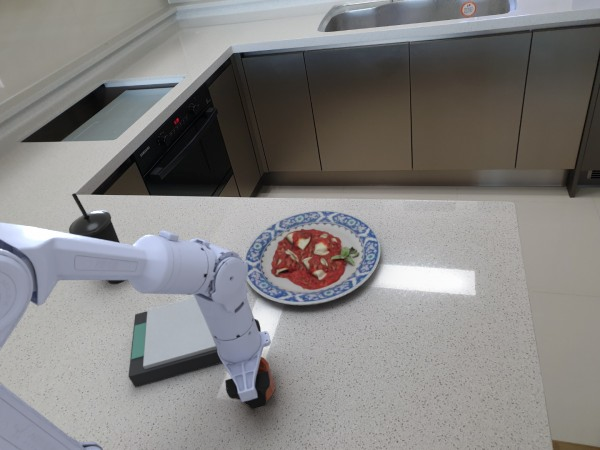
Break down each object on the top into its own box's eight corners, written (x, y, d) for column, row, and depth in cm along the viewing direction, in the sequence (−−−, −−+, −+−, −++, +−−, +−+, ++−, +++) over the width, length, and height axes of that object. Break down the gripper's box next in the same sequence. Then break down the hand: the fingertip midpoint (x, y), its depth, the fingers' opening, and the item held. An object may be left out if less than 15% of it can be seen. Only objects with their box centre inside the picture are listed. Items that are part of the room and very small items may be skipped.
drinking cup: (143, 261, 95) (103, 180, 83) (128, 288, 89) (82, 205, 77) (110, 263, 97) (66, 183, 85) (93, 289, 91) (42, 208, 79)
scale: (135, 387, 71) (126, 373, 69) (140, 324, 81) (133, 311, 79) (230, 360, 72) (224, 346, 70) (223, 302, 82) (218, 288, 80)
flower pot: (241, 411, 65) (233, 394, 62) (237, 379, 69) (229, 361, 66) (278, 401, 65) (272, 382, 62) (272, 369, 69) (266, 350, 67)
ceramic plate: (219, 294, 84) (215, 282, 82) (283, 211, 101) (281, 200, 99) (352, 329, 73) (350, 316, 71) (398, 229, 90) (397, 217, 88)
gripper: (271, 359, 52) (291, 422, 61) (254, 276, 64) (274, 338, 72) (210, 377, 52) (239, 437, 60) (205, 289, 63) (230, 350, 72)
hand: (255, 384), depth 66 cm, fingers open, 6 cm apart
